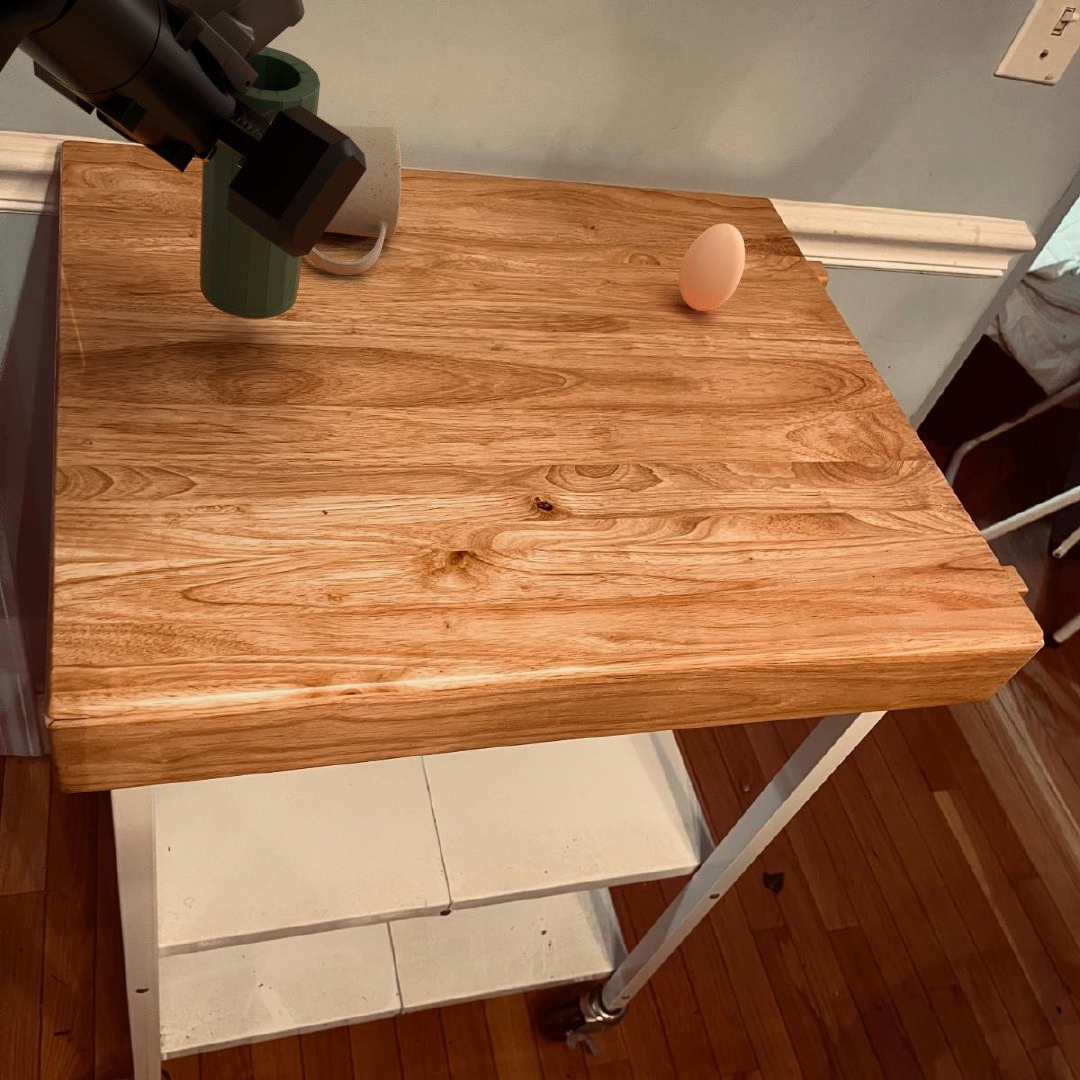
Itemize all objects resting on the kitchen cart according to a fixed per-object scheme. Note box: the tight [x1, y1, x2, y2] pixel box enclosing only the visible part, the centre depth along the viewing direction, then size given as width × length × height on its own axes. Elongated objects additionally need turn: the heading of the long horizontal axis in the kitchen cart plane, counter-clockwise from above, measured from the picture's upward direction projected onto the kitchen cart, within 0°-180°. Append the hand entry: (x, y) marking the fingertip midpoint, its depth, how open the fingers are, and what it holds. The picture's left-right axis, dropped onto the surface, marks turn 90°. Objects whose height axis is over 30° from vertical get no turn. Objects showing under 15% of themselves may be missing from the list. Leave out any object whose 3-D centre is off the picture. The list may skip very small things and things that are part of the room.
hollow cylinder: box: [199, 46, 321, 320], centre depth 61 cm, size 6×6×14 cm
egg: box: [678, 223, 746, 312], centre depth 82 cm, size 5×5×7 cm
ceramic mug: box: [306, 125, 402, 276], centre depth 77 cm, size 11×8×8 cm
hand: (272, 183), depth 62 cm, fingers closed on hollow cylinder, 6 cm apart
